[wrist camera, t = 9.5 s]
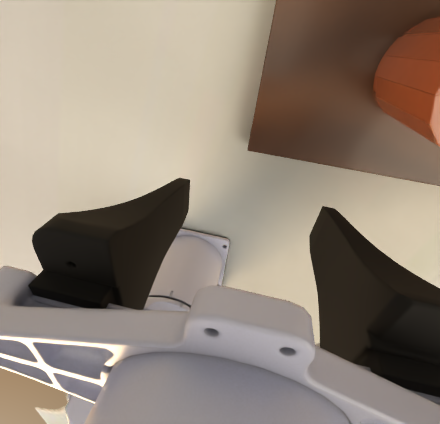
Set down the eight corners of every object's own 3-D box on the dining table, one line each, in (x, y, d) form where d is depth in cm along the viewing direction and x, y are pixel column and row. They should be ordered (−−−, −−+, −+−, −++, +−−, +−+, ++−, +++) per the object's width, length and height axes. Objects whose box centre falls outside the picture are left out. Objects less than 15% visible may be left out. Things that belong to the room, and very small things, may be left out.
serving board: (491, 188, 20) (506, 198, 19) (248, 144, 21) (247, 150, 20) (715, -63, 12) (766, -75, 10) (296, -104, 13) (299, -119, 12)
